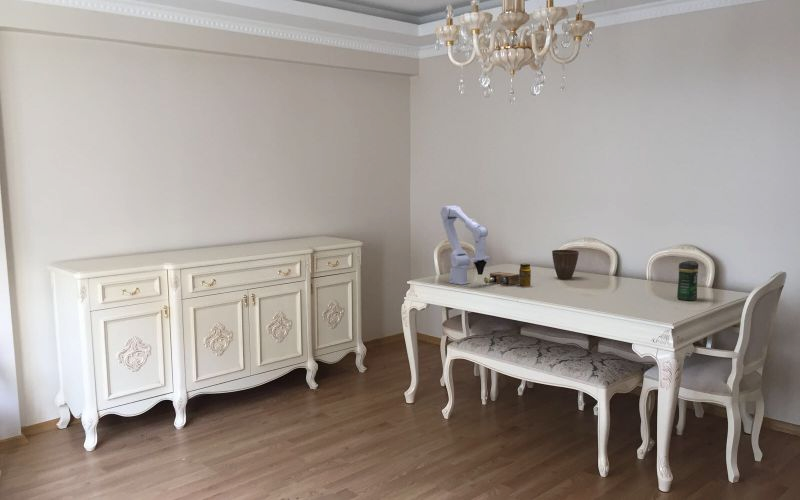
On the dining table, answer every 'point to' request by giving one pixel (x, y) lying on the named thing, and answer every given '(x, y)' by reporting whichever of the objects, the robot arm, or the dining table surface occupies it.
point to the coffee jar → (687, 280)
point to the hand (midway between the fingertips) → (480, 274)
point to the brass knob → (489, 279)
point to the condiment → (524, 276)
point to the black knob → (504, 280)
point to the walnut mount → (512, 278)
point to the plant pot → (565, 263)
